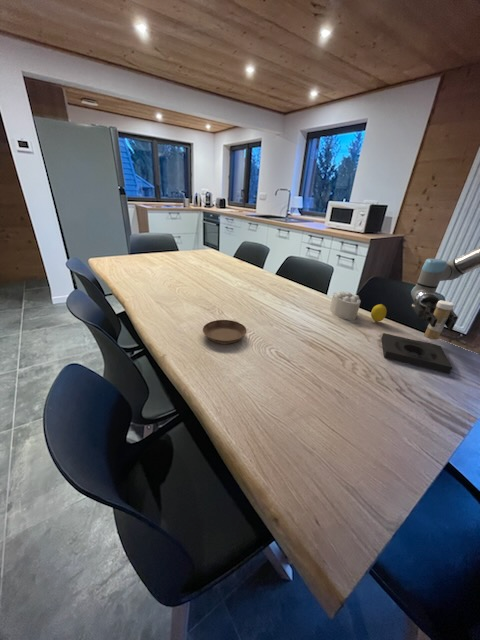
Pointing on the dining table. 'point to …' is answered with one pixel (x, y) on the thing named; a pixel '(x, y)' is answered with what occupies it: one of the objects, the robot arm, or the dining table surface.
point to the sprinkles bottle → (439, 319)
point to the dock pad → (427, 352)
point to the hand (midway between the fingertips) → (443, 325)
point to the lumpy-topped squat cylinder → (345, 305)
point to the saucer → (224, 331)
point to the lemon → (378, 312)
